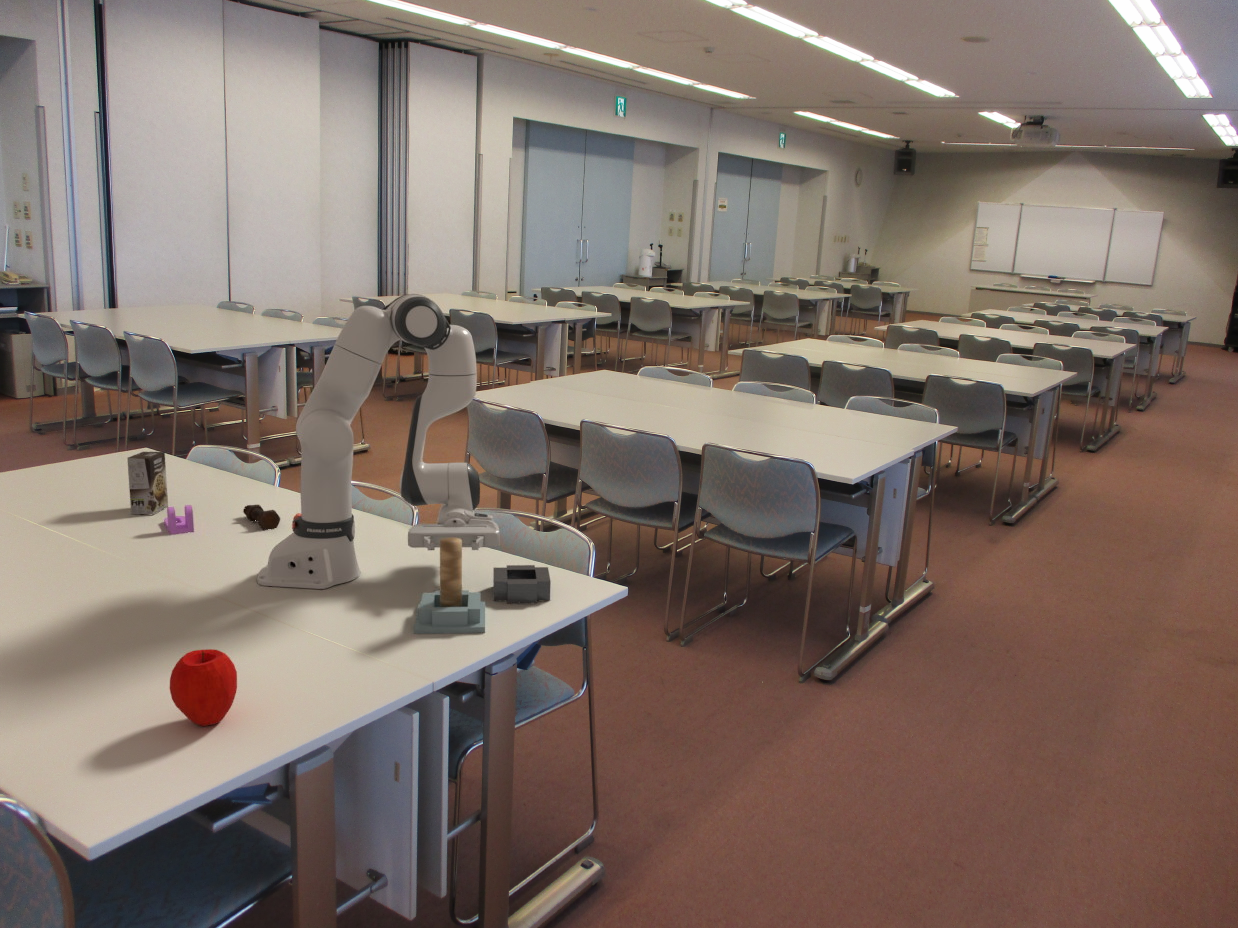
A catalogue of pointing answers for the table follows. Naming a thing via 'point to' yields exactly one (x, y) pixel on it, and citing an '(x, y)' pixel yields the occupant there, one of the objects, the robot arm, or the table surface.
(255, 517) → the bolt
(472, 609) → the teal cradle
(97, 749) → the table surface
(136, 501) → the cookie box
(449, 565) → the oak axle
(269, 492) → the table surface
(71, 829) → the table surface
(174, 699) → the apple
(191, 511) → the bracket
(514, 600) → the steel bore block
